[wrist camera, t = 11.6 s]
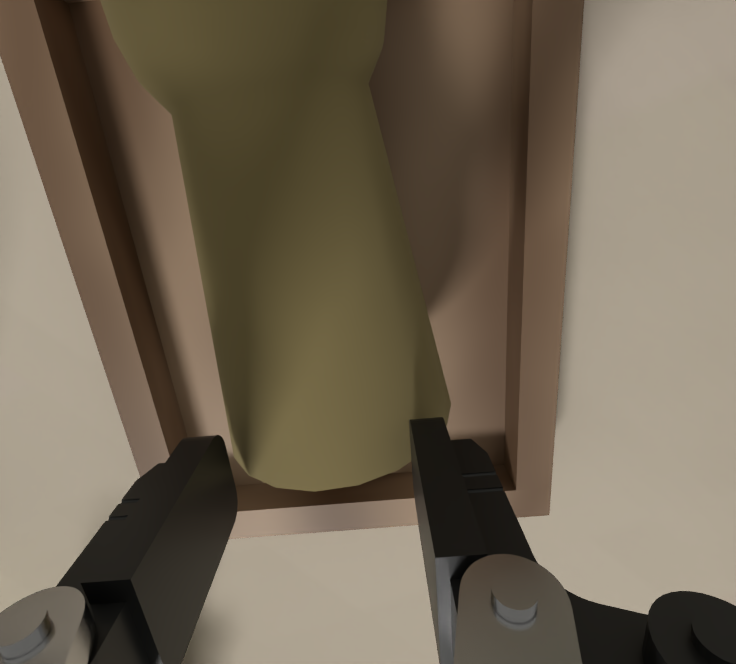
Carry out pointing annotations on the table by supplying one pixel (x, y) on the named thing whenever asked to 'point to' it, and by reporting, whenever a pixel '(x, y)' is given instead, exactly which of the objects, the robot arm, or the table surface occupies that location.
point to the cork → (294, 230)
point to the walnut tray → (419, 209)
